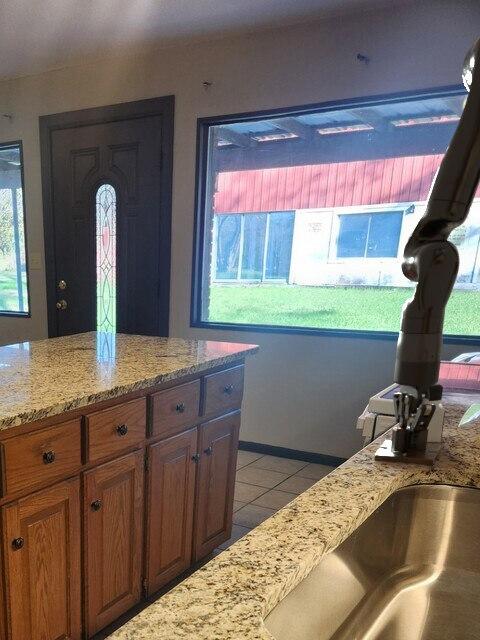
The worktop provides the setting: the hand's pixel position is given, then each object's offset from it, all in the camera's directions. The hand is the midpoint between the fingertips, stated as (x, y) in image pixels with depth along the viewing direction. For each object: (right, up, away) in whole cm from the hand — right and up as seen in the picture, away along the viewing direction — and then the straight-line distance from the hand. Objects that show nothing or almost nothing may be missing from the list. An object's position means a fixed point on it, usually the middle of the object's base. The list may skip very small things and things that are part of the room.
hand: (408, 448), depth 131 cm
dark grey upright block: (0, 0, 0) cm, 0 cm away
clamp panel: (0, -3, +1) cm, 3 cm away
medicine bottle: (+11, +4, +19) cm, 22 cm away
